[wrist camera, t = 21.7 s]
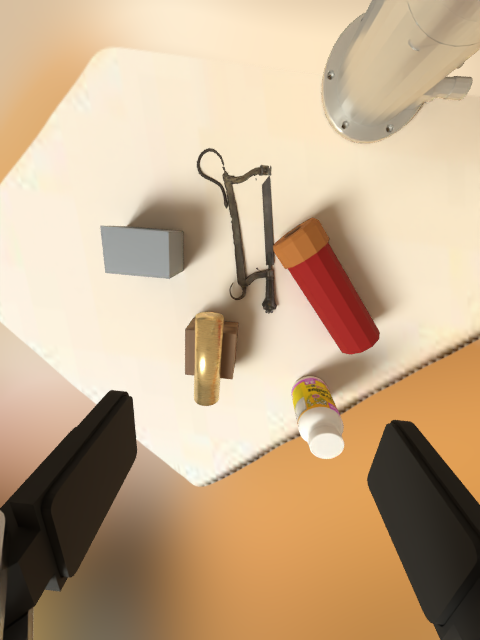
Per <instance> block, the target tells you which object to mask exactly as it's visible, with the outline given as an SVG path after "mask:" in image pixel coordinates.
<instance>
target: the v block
mask: <svg viewBox="0 0 480 640" xmlns="http://www.w3.org/2000/svg"><path fill="white" fill-rule="evenodd" d="M237 332H238V323H235V322H225V321H224V322H223V339H222V355H221V372H220V378H225V379H233V373H234V366H235V357H236V345H237ZM194 372H195V319H194V318H193V319H192V321H191V322H190V324H189V325H188V326H187V328H186V329H185V374H186V375H194Z"/></svg>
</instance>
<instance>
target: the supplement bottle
mask: <svg viewBox="0 0 480 640" xmlns="http://www.w3.org/2000/svg"><path fill="white" fill-rule="evenodd" d="M291 393H292V400H293V404H294V409H295V414H296V419H297V424H298V428H299V432H300V434H301V436H302V438H303V439H305V441H307V442H308V444H309V447H310V450H311V452H312V453H313V454H314V455H315V456H317V457H319V458H323V459H330V458H334V457H336V456H338V455H339V454H340V453H341V452H342V451H343V449H344V441H343V439H342V436H341V435H342V433H343V422H342V419H341V417H340V414H339V412H338V410H337V408H336V405H335V403H334V401H333V399H332V396H331V394H330V392H329V389H328V387H327V385H326V384H325V382H324V381H322V380H321V379H319V378H317V377H313V376H308V377H303V378H301V379H299V380H298V381H296V382H295V384H294V385H293V387H292V392H291Z"/></svg>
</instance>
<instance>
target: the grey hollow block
mask: <svg viewBox="0 0 480 640" xmlns="http://www.w3.org/2000/svg"><path fill="white" fill-rule="evenodd" d="M100 227H101V236H102V246H103V255H104V264H105V273H112V274H123V275H134V276H145V277H156V278H167V279H170V278H172V277H173V276H175V275H177V274H179V273H180V272H182V271H183V231H175V230H164V229H152V228H140V227H129V226H100Z"/></svg>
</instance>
